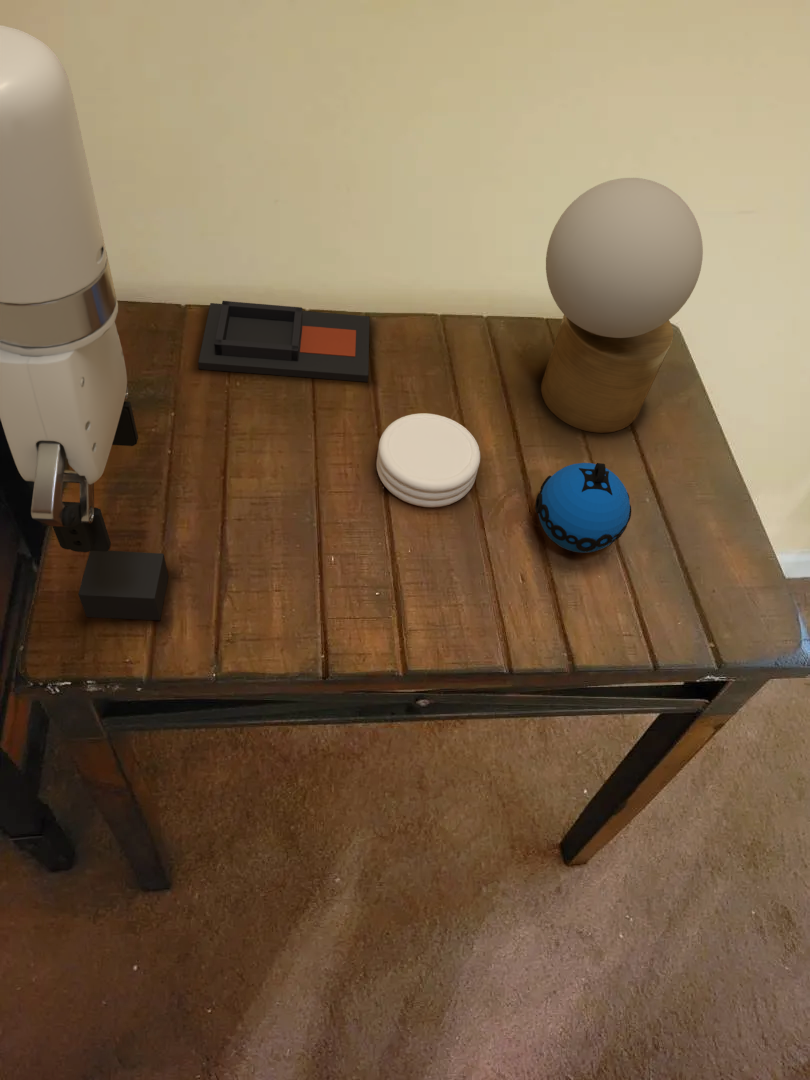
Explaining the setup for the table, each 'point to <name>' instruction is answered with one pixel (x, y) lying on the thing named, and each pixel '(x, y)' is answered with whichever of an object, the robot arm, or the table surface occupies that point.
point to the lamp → (616, 298)
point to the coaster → (427, 460)
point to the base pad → (285, 342)
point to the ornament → (583, 507)
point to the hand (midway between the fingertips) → (102, 491)
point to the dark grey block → (124, 585)
